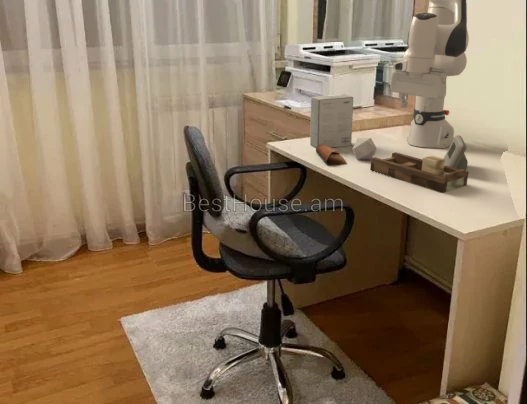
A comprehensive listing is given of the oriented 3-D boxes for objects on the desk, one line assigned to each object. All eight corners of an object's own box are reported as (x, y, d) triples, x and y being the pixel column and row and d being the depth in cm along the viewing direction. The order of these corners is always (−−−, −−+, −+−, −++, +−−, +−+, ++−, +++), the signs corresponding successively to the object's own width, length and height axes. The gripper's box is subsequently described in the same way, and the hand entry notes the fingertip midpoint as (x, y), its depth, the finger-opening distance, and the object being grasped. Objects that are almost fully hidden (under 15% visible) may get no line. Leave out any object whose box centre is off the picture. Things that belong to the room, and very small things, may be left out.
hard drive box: (342, 141, 240) (345, 93, 234) (351, 145, 234) (354, 96, 227) (309, 144, 235) (310, 96, 228) (317, 149, 229) (319, 99, 222)
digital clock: (443, 161, 213) (446, 133, 209) (469, 164, 210) (472, 135, 206) (437, 173, 199) (441, 143, 195) (465, 176, 196) (468, 146, 192)
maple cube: (430, 170, 192) (432, 155, 190) (443, 173, 188) (445, 158, 187) (421, 172, 189) (422, 158, 187) (433, 176, 185) (435, 161, 184)
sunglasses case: (349, 164, 208) (341, 149, 206) (332, 174, 209) (324, 159, 206) (336, 151, 225) (328, 137, 223) (321, 161, 226) (313, 147, 223)
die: (369, 164, 210) (383, 142, 211) (349, 152, 210) (363, 130, 211) (365, 166, 219) (378, 145, 219) (346, 154, 219) (359, 133, 219)
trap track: (394, 164, 209) (395, 149, 207) (466, 184, 187) (468, 168, 185) (370, 170, 202) (371, 155, 200) (442, 192, 179) (444, 176, 177)
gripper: (453, 69, 179) (447, 113, 183) (401, 63, 194) (397, 104, 199) (440, 70, 175) (435, 115, 180) (389, 63, 190) (385, 105, 195)
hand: (415, 109), depth 189 cm, fingers open, 8 cm apart
